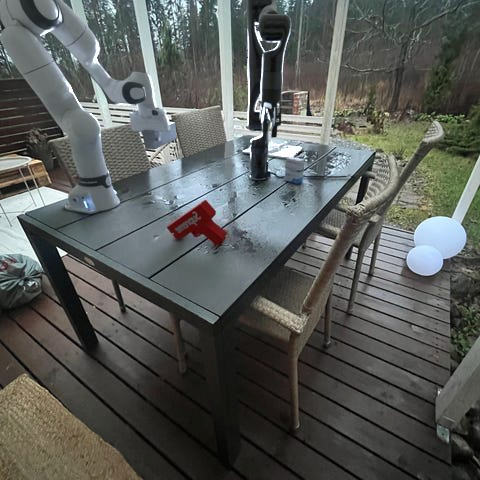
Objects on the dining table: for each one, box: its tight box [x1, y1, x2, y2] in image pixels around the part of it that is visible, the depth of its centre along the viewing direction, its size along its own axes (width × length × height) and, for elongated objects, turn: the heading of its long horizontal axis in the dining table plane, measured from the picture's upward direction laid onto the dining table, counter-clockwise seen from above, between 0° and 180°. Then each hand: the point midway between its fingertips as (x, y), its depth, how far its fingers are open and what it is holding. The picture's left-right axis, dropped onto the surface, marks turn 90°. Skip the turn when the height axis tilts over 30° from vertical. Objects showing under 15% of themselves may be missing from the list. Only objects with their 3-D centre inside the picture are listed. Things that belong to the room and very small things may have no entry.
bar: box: [141, 121, 178, 151], centre depth 145 cm, size 25×5×9 cm, turn 165°
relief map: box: [242, 138, 304, 160], centre depth 192 cm, size 27×35×5 cm
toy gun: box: [166, 199, 228, 248], centre depth 93 cm, size 18×4×15 cm
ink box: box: [284, 156, 306, 185], centre depth 140 cm, size 8×5×12 cm, turn 47°
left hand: (152, 140), depth 138 cm, fingers closed on bar, 5 cm apart
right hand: (269, 135), depth 105 cm, fingers open, 8 cm apart
